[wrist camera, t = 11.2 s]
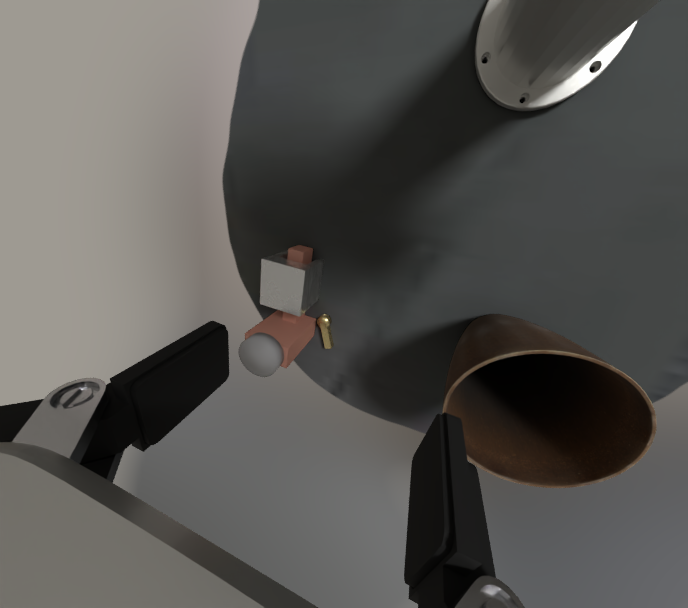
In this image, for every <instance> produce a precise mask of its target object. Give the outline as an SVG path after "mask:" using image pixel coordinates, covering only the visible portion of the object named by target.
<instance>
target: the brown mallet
mask: <svg viewBox="0 0 688 608" xmlns="http://www.w3.org/2000/svg"><path fill="white" fill-rule="evenodd" d="M312 254H313V248H309V247H306V246H302V245H297V246H294V247H291V248H288V260H292V261H295V262H299V263H303V264H306V265H307V264H309V263H311V261H312ZM315 325H316V319H315V318H312V317H309V316H306V315H305V313H304V314H302V315H301V316H300V317H299V316H296V315H293V314H290V313H287V312H283V311H280V310H277V311H276V312H274V313H273V314H271V315H270V316H269V317H267V318H266V319H264V320H263V321H262V322H260V323H259V324H257V325H256V326H255V327H253V328H252V329H250V330H249V331H248V332H246V333H245V341H244V342H242V343H241V345H240V347H239V357H240V360H241V362H242V363H243V365H244V366H245V367H246V368H247V369H248V370H249V371H250V372H252V373H253V374H255V375H257V376H261V377H267V376H270V375H272V374H273V373H274V372H275V371H276V370H277V369H278V368H279V366H282V367H284V368H287V367H288V366H289V365H290V363H291V362H292V361H293V360H294V359H295V357H296V356H297V355H298V354H299V353H300V351H301V350H302V349H303V348H304V347H305V346H306V344H307V343H308V342H309V341H310V340H311V338H312V337H313V336H314V332H315Z"/></svg>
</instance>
